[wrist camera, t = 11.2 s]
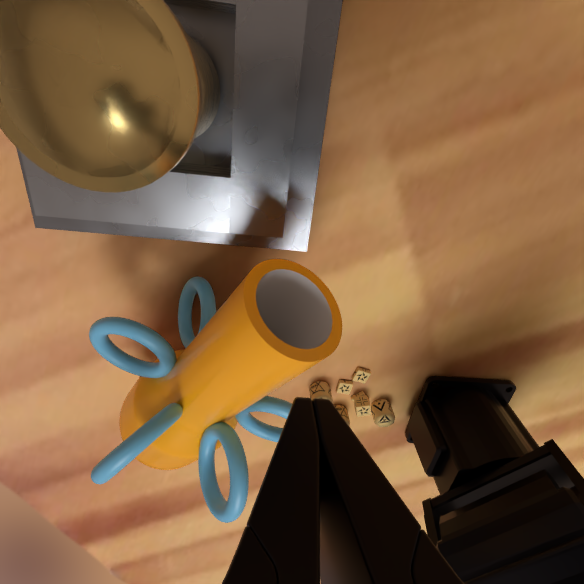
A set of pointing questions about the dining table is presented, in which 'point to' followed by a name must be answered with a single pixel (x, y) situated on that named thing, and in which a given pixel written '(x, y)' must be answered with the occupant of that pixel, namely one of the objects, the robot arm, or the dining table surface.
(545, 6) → the dining table surface
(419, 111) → the dining table surface
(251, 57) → the plate
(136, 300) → the dining table surface
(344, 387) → the mottled tan cylinder cluster
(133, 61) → the bushing
